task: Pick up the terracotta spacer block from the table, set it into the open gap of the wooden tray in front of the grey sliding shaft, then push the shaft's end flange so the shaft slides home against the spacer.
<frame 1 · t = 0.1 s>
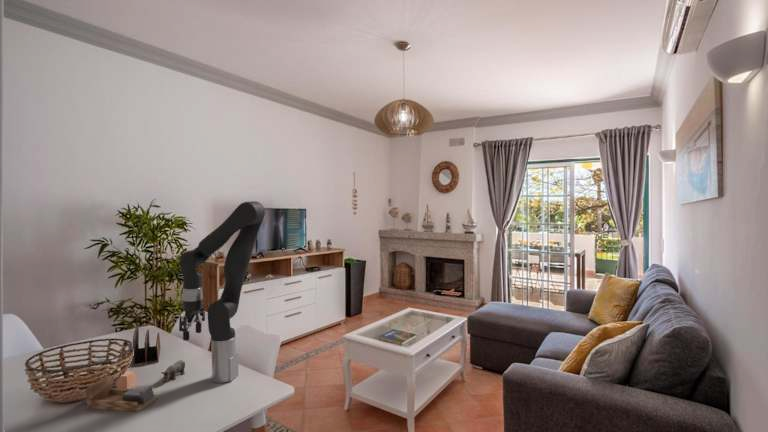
hand: (192, 336, 165), 17 cm above the table, tool pointing down, fingers open, 8 cm apart
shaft: (137, 394, 145), point 4 cm above the table, slide at 0.0 cm
rhino figurine: (172, 379, 165), on the table
ceramic mug: (115, 375, 168), on the table
letter holder: (147, 357, 187), on the table
wooden tray: (122, 403, 146), on the table
spacer: (126, 386, 158), on the table
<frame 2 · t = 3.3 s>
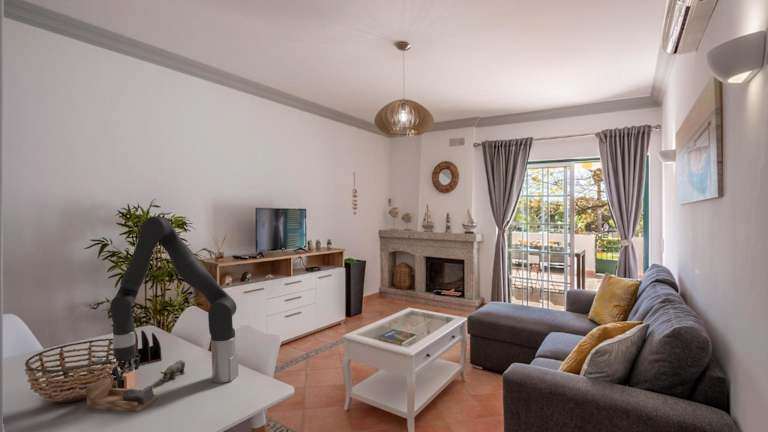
hand: (126, 385, 158), 1 cm above the table, tool pointing down, fingers closed on spacer, 4 cm apart
spacer: (126, 386, 158), on the table, touching gripper
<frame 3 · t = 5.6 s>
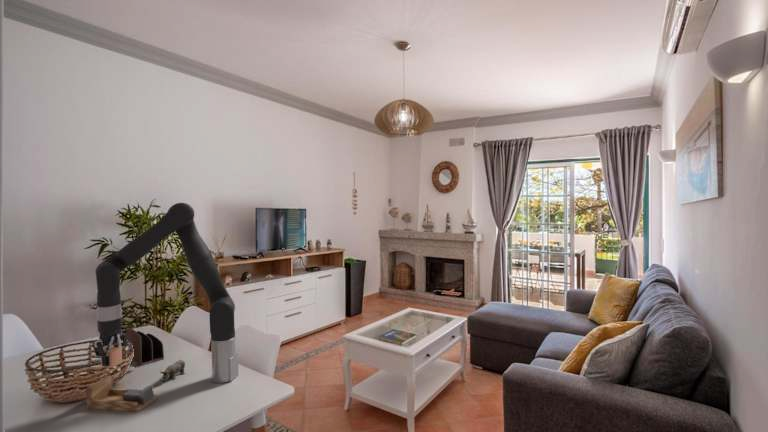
hand: (111, 362, 145), 15 cm above the table, tool pointing down, fingers closed on spacer, 4 cm apart
spacer: (111, 364, 145), point 14 cm above the table, touching gripper
when the fingers open (4 cm above the table, at t = 7.7 s): spacer drops 2 cm, resting on wooden tray.
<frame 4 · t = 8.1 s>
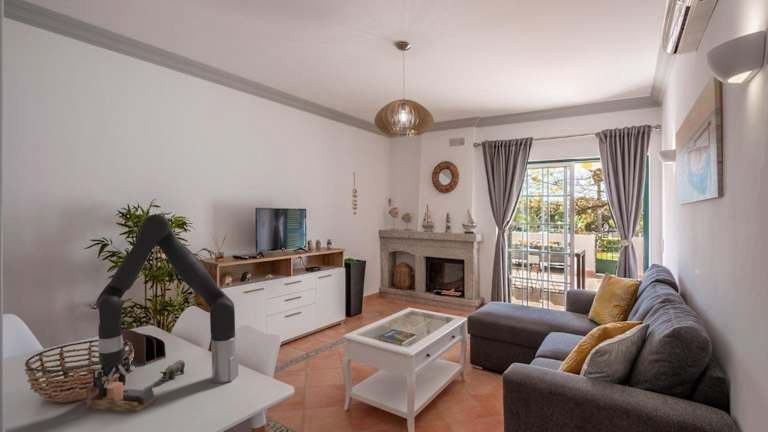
hand: (113, 391, 146), 4 cm above the table, tool pointing down, fingers open, 8 cm apart
spacer: (113, 399, 146), point 1 cm above the table, touching wooden tray
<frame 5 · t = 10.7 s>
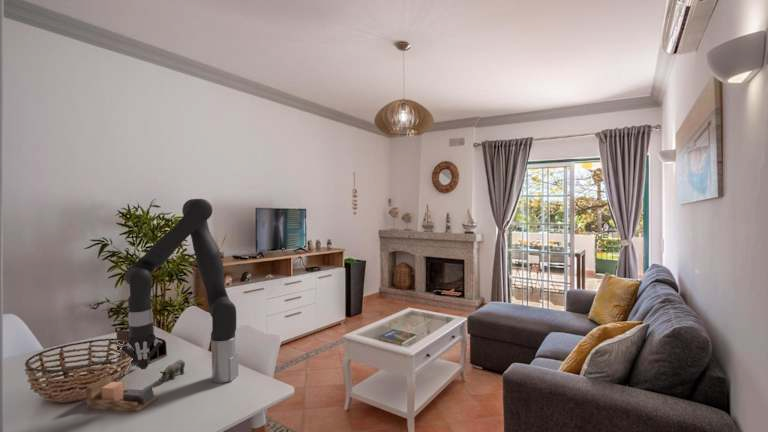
hand: (144, 368, 145), 13 cm above the table, tool pointing down, fingers closed
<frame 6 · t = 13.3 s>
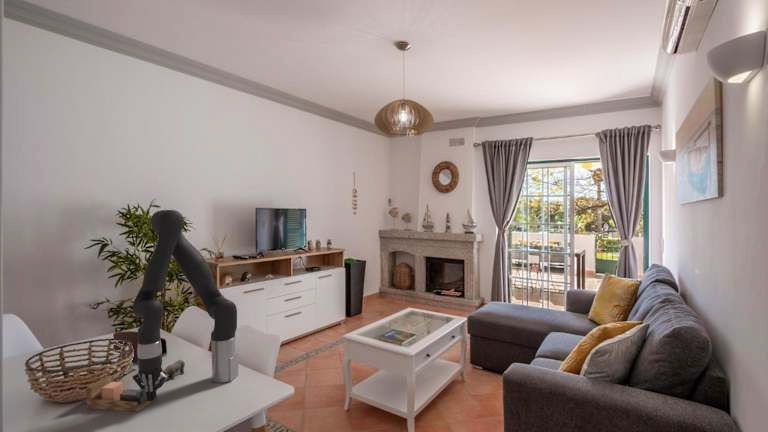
hand: (151, 400, 144), 2 cm above the table, tool pointing down, fingers closed
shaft: (134, 394, 145), point 4 cm above the table, slide at 1.3 cm, touching gripper
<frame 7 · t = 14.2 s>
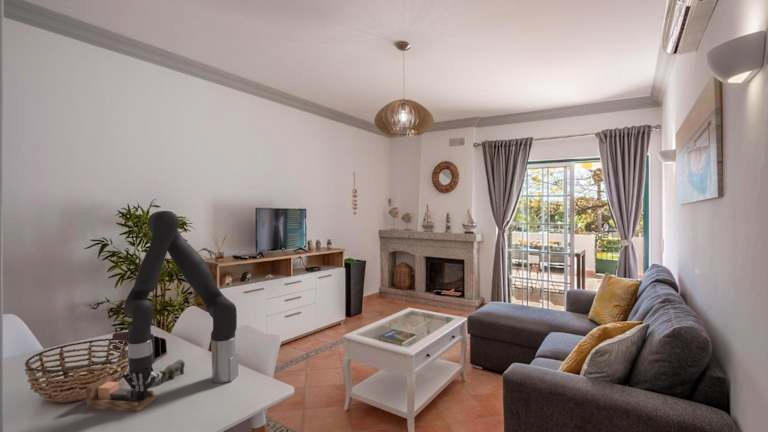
hand: (142, 399, 144), 2 cm above the table, tool pointing down, fingers closed
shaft: (125, 393, 145), point 4 cm above the table, slide at 5.0 cm, touching gripper, spacer
spacer: (109, 399, 146), point 1 cm above the table, touching wooden tray, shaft
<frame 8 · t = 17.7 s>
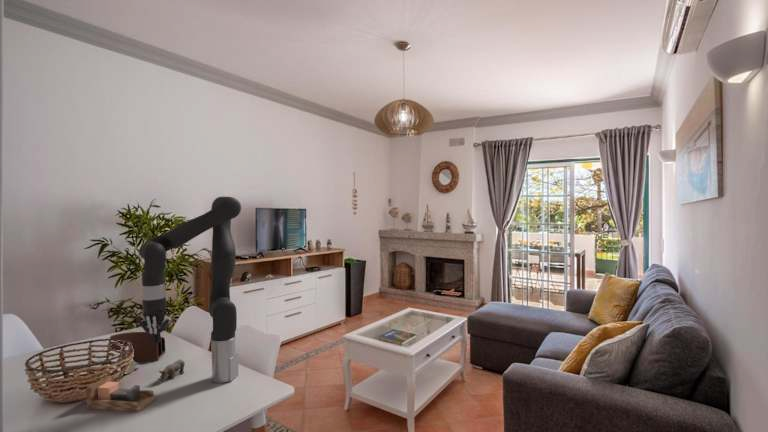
hand: (155, 343, 146), 22 cm above the table, tool pointing down, fingers closed
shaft: (124, 393, 145), point 4 cm above the table, slide at 5.0 cm, touching spacer
at the end: spacer 0.2 cm from the target spot on the wooden tray, point 1.2 cm above the wooden tray's base; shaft slide at 5.0 cm; spacer tilted 0° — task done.
